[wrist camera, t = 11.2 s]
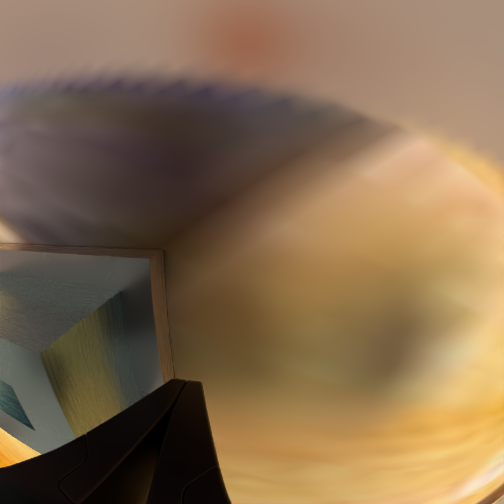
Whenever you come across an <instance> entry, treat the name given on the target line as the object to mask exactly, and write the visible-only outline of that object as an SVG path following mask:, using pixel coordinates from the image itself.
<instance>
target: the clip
mask: <svg viewBox="0 0 504 504" xmlns="http://www.w3.org/2000/svg"><path fill="white" fill-rule="evenodd" d="M140 399H141V398H140V394H139V390H138V386H137V382H136V377H135V373H134V368H133V363H132V359H131V354H130V348H129V343H128V337H127V331H126V325H125V319H124V312H123V305H122V297H121V291H120V290H112V289H103V288H95V287H87V286H79V285H72V284H64V283H57V282H51V281H44V280H38V279H31V278H25V277H19V276H14V275H8V274H2V273H0V428H2V429H3V430H5V431H6V432H7V433H9V434H10V435H12V436H13V437H15V438H16V439H18V440H19V441H21V442H22V443H24V444H26V445H27V446H29V447H30V448H32V449H34V450H35V451H37V452H39V453H41V454H44V453H47V452H49V451H51V450H54V449H56V448H58V447H61V446H62V445H64V444H66V443H68V442H70V441H72V440H74V439H76V438H78V437H79V436H81V435H83V434H85V435H86V433H87V432H88V431H90V430H92V429H93V428H95V427H97V426H98V425H100V424H102V423H103V422H105V421H107V420H108V419H110V418H112V417H113V416H115V415H117V414H118V413H120V412H121V411H123V410H125V409H126V408H128V407H129V406H131V405H133V404H134V403H136V402H137V401H139V400H140Z"/></svg>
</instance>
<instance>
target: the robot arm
mask: <svg viewBox="0 0 504 504" xmlns="http://www.w3.org/2000/svg"><path fill="white" fill-rule="evenodd" d="M0 504H232V503H231V501H230V499H229V496H228V493H227V490H226V487H225V484H224V481H223V477H222V474H221V470H220V468H219V462H218V458H217V454H216V449H215V445H214V441H213V436H212V431H211V427H210V422H209V417H208V412H207V407H206V402H205V397H204V391H203V386H202V383H201V382H199V381H191V380H189V381H186V380H184V379H177V378H173V379H171V380H169V381H168V382H166V383H165V384H163V385H162V386H160V387H159V388H157V389H156V390H154V391H153V392H151V393H150V394H148V395H147V396H145V397H143V398H142V399H140V400H139V401H137V402H136V403H134V404H133V405H131V406H129V407H128V408H126V409H125V410H123V411H121V412H120V413H118V414H117V415H115V416H113V417H112V418H110V419H108V420H107V421H105V422H103V423H102V424H100V425H98V426H97V427H95V428H93V429H92V430H90V431H88V432H87V433H86V435H85V434H83V435H81V436H79V437H78V438H76V439H74V440H72V441H70V442H68V443H66V444H64V445H62V446H61V447H58V448H56V449H54V450H51V451H49V452H47V453H44V454H42V455H39V456H37V457H34V458H31V459H28V460H25V461H23V462H20V463H17V464H14V465H11V466H7V467H2V468H0Z"/></svg>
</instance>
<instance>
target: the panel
mask: <svg viewBox="0 0 504 504" xmlns="http://www.w3.org/2000/svg"><path fill="white" fill-rule="evenodd" d="M0 273H2V274H8V275H14V276H19V277H25V278H31V279H38V280H44V281H51V282H57V283H64V284H72V285H79V286H87V287H95V288H103V289H112V290H120V291H121V297H122V305H123V312H124V319H125V325H126V331H127V337H128V343H129V348H130V354H131V359H132V363H133V368H134V373H135V377H136V382H137V386H138V390H139V394H140V398H141V399H142V398H143V397H145V396H147V395H148V394H150V393H151V392H153V391H154V390H156V389H157V388H159V387H160V386H162V385H163V384H165V383H166V382H168V381H169V380H171V379H173V378H175V376H174V369H173V361H172V353H171V345H170V336H169V326H168V315H167V303H166V289H165V273H164V251H163V250H150V249H126V248H103V247H79V246H56V245H34V244H11V243H0Z"/></svg>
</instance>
